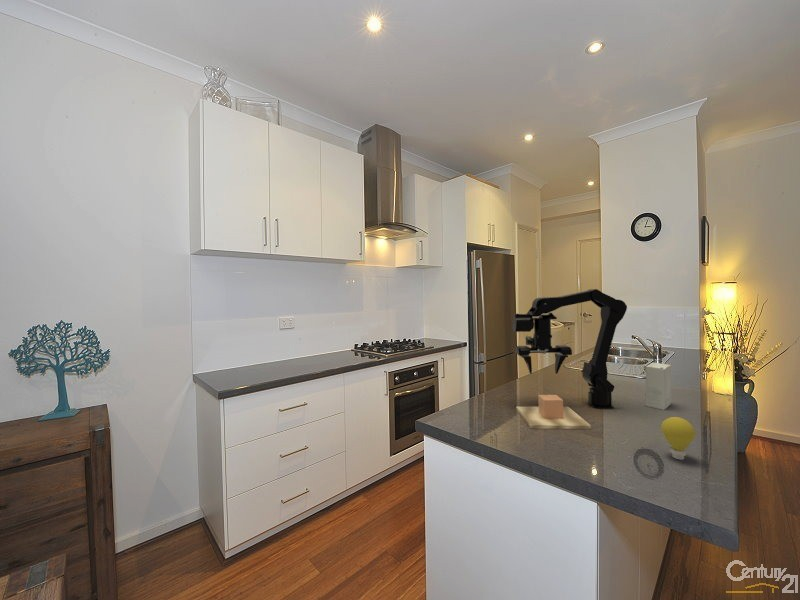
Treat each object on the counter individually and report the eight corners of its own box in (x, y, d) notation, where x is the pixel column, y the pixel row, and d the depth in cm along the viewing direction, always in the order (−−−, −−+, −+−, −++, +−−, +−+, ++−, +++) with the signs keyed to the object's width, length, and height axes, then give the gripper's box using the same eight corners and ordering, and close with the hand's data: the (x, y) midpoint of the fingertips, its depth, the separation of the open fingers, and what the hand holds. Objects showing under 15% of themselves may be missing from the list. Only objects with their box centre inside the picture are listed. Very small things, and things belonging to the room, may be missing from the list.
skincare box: (652, 401, 130) (651, 361, 130) (672, 405, 125) (671, 364, 125) (645, 406, 125) (644, 365, 124) (665, 410, 120) (664, 367, 120)
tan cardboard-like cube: (556, 412, 118) (556, 394, 118) (563, 418, 112) (563, 400, 112) (538, 412, 119) (538, 394, 119) (544, 418, 113) (544, 400, 113)
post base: (568, 409, 124) (567, 394, 124) (591, 428, 106) (590, 411, 106) (516, 409, 126) (516, 394, 125) (530, 428, 108) (530, 411, 108)
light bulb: (654, 452, 90) (654, 414, 90) (678, 450, 91) (678, 412, 90) (677, 464, 83) (676, 423, 83) (703, 462, 84) (702, 421, 84)
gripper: (560, 328, 135) (561, 368, 135) (511, 329, 137) (512, 369, 137) (572, 332, 124) (573, 375, 124) (518, 332, 126) (519, 375, 126)
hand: (543, 373), depth 128 cm, fingers open, 9 cm apart
